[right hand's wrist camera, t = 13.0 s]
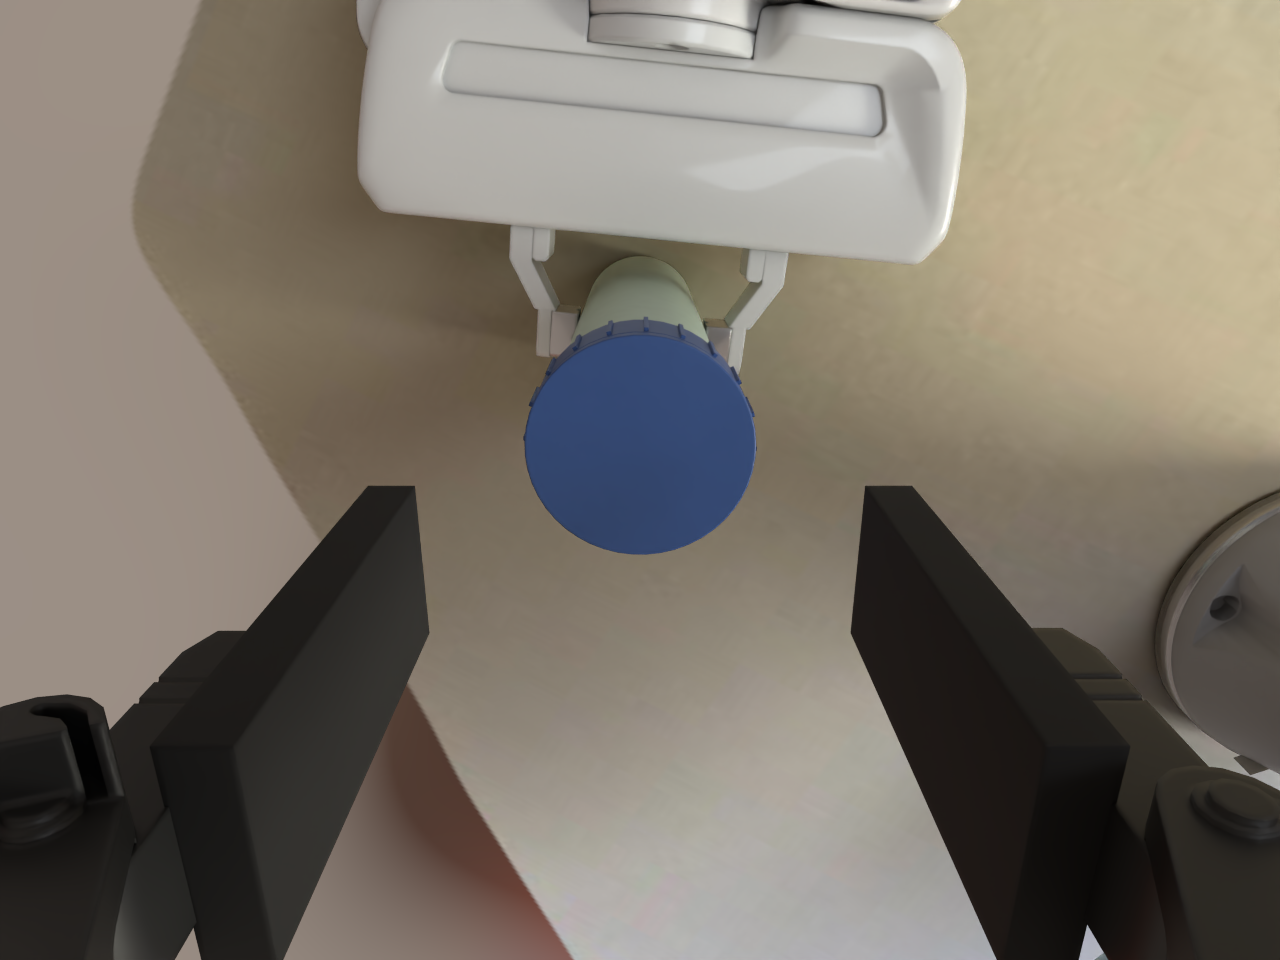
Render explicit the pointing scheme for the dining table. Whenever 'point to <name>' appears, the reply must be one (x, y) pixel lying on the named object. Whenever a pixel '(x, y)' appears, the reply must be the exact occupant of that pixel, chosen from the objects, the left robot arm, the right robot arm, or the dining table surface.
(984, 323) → the dining table surface
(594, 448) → the lid
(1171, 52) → the dining table surface
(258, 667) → the right robot arm
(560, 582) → the dining table surface
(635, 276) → the pale green bottle
